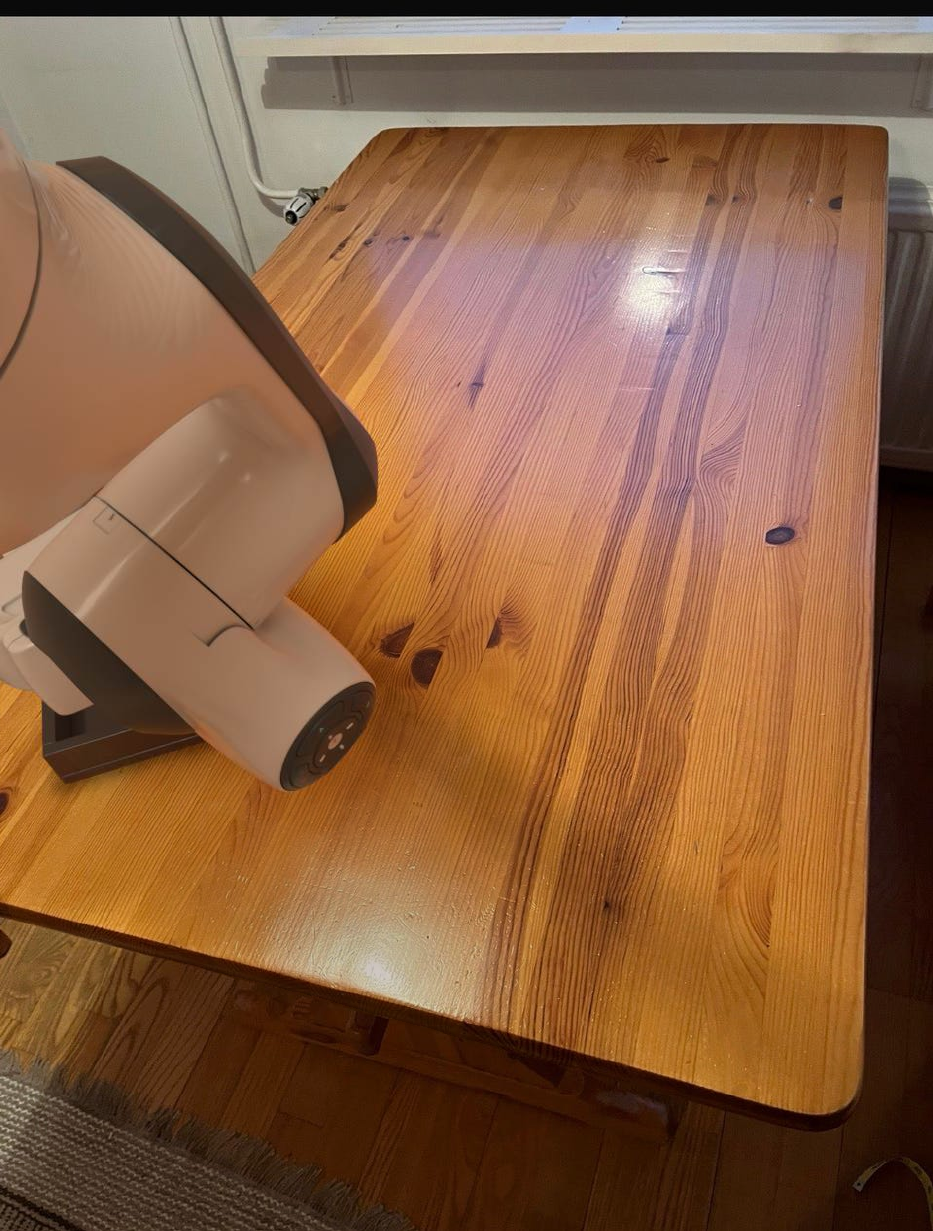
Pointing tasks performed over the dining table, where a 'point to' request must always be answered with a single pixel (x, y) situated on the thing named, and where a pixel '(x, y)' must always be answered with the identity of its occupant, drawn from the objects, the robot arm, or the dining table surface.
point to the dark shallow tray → (99, 743)
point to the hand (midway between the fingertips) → (47, 500)
